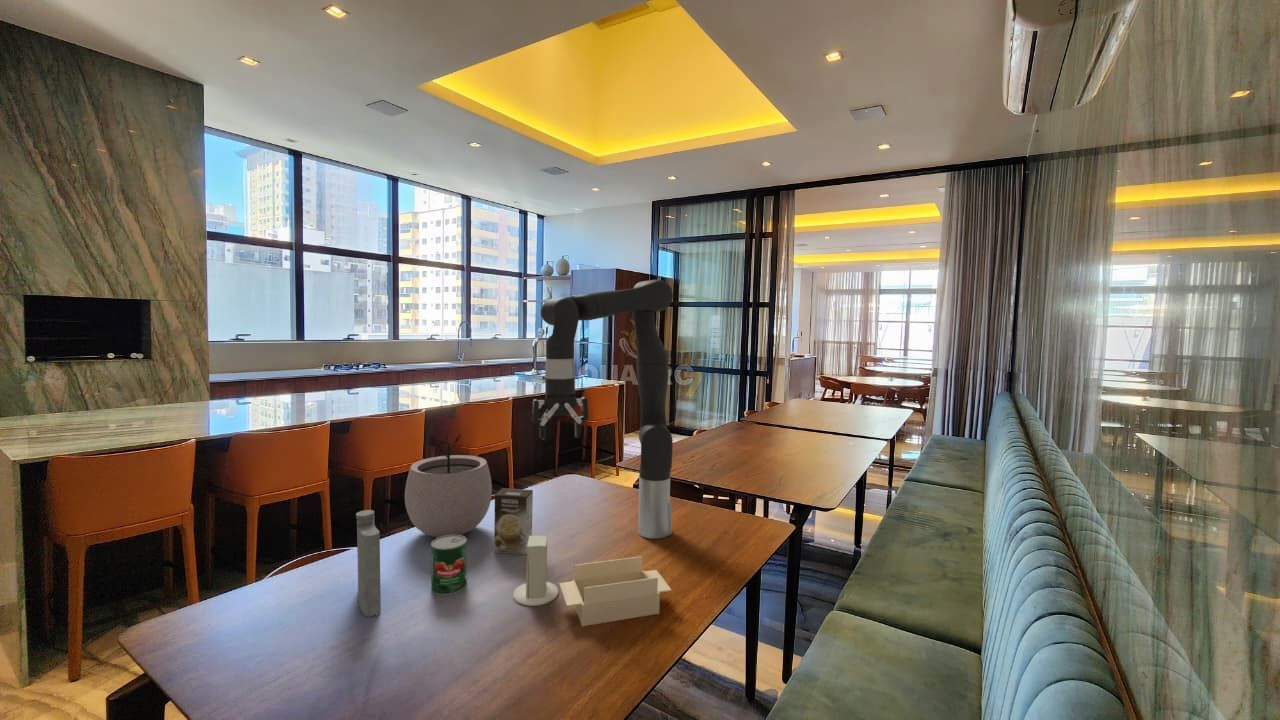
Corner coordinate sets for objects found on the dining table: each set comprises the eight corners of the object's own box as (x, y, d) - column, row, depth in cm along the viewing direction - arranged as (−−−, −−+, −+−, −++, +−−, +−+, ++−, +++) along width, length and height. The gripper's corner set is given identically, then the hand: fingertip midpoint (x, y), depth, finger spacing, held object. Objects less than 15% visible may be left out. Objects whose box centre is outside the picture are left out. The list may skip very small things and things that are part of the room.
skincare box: (528, 585, 122) (528, 534, 121) (547, 584, 123) (547, 534, 122) (525, 599, 116) (525, 546, 115) (545, 598, 116) (546, 545, 116)
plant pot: (385, 541, 146) (384, 436, 144) (446, 513, 168) (446, 422, 166) (453, 557, 137) (453, 445, 135) (508, 525, 160) (508, 429, 158)
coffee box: (492, 553, 140) (492, 494, 139) (501, 543, 147) (501, 487, 145) (525, 555, 139) (526, 496, 138) (533, 545, 146) (533, 489, 145)
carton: (655, 587, 124) (655, 554, 123) (672, 611, 113) (673, 575, 113) (558, 601, 116) (558, 566, 116) (567, 628, 106) (567, 590, 105)
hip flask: (381, 614, 110) (380, 522, 109) (359, 619, 108) (358, 525, 106) (374, 582, 123) (373, 499, 122) (355, 586, 121) (354, 502, 120)
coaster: (554, 581, 125) (554, 578, 125) (561, 602, 116) (561, 599, 116) (511, 586, 122) (511, 584, 122) (515, 608, 113) (515, 606, 113)
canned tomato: (441, 599, 116) (440, 551, 116) (425, 587, 122) (424, 541, 121) (473, 586, 122) (473, 541, 121) (456, 575, 127) (456, 531, 127)
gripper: (584, 374, 139) (584, 433, 140) (530, 375, 134) (530, 437, 135) (590, 376, 132) (590, 439, 133) (534, 378, 127) (534, 443, 128)
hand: (560, 438), depth 134 cm, fingers open, 8 cm apart
